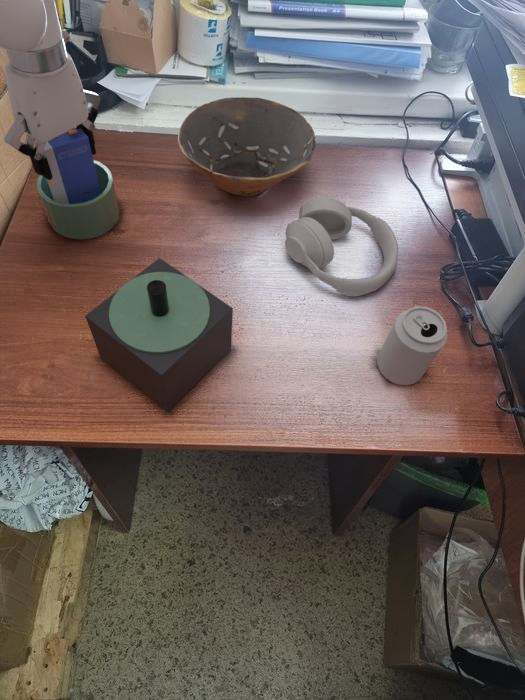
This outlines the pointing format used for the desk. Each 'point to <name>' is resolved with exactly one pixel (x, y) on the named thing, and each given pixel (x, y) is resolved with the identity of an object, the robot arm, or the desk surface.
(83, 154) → the walkman
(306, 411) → the desk surface
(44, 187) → the pot
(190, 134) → the bowl
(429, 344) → the can
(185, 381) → the stand
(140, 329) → the lid
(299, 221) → the headphones
